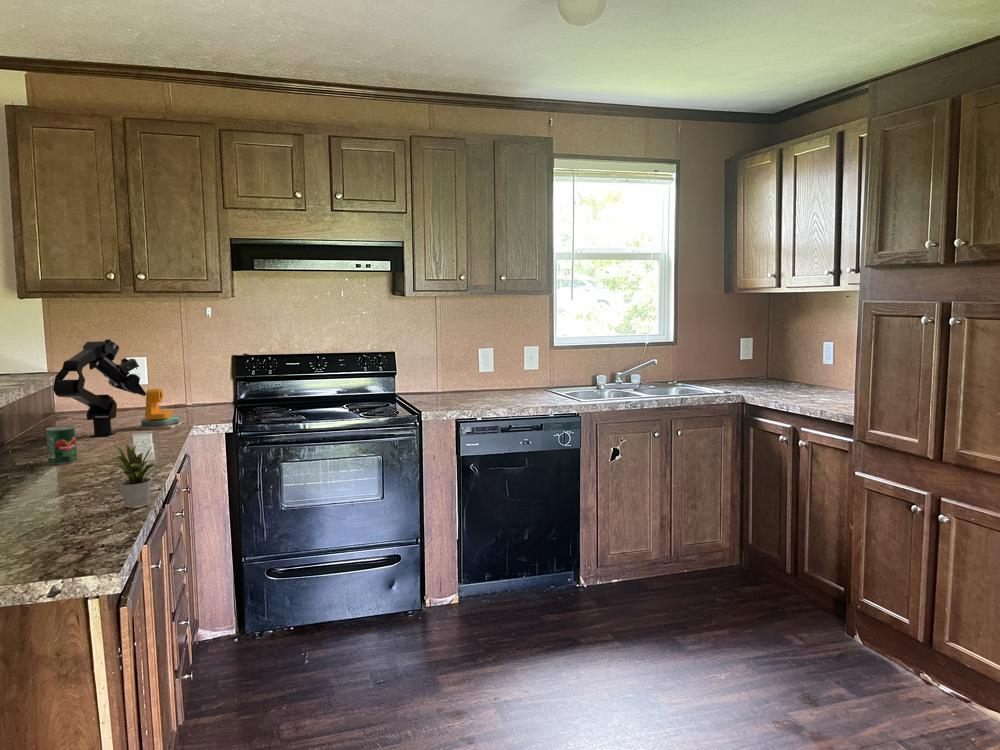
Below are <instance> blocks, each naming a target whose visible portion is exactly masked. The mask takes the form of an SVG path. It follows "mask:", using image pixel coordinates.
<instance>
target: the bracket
mask: <svg viewBox="0 0 1000 750" xmlns="http://www.w3.org/2000/svg"><path fill="white" fill-rule="evenodd" d="M145 393H146V395H145V412H144V419H148V420H168V419H169V418H171V416H174V415H173V409H160V405H159V403H162V402H163V401H164V392H163V389H162V388H147V389H146V391H145Z"/></svg>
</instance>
